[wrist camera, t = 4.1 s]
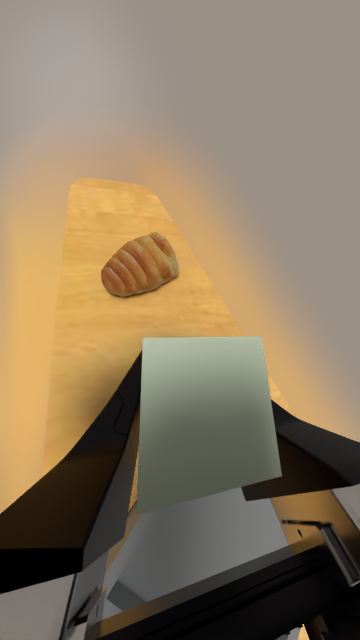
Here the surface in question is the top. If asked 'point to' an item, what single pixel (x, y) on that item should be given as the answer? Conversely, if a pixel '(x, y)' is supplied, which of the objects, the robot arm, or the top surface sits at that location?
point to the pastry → (140, 266)
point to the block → (203, 419)
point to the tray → (188, 547)
